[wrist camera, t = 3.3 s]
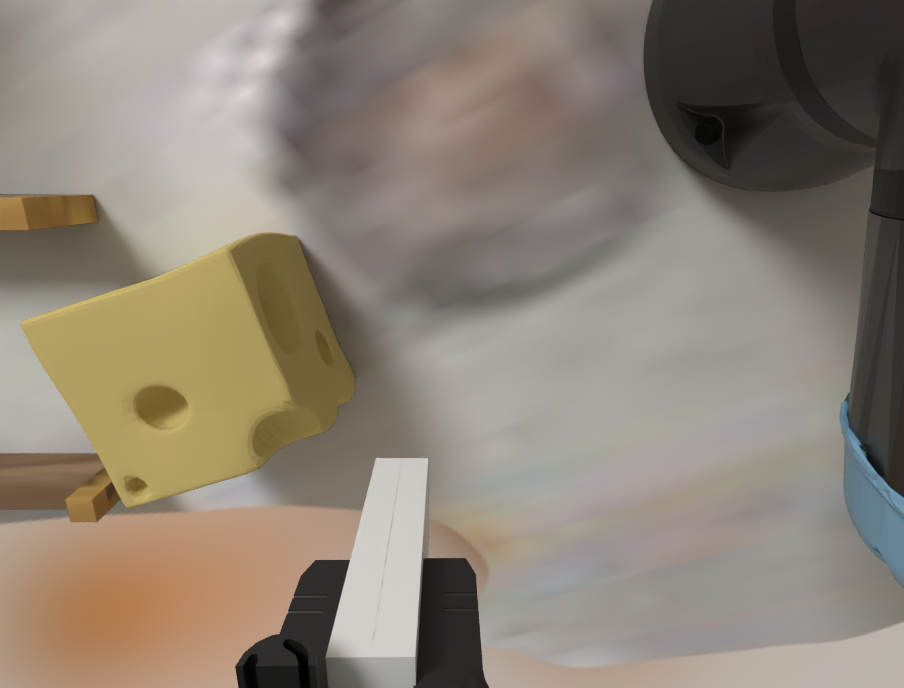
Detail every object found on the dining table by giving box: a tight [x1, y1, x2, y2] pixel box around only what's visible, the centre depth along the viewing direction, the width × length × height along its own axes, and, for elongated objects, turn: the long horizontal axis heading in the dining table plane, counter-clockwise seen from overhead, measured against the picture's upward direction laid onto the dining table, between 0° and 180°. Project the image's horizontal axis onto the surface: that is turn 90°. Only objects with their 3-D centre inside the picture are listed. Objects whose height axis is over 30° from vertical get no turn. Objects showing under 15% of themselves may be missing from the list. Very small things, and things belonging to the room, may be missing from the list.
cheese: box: [20, 233, 356, 508], centre depth 27 cm, size 10×11×10 cm
